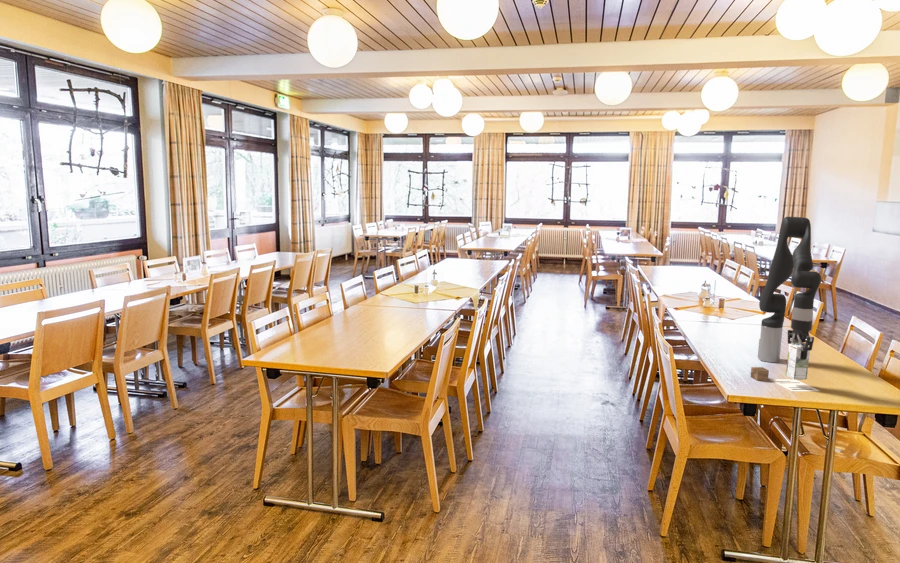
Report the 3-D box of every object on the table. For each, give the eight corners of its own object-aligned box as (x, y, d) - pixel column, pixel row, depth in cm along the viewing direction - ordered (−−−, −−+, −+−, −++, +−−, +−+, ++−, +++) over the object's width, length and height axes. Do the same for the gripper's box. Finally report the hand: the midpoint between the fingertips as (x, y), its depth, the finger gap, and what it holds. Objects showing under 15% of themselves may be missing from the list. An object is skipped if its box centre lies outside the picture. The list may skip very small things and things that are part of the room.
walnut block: (750, 377, 261) (751, 367, 260) (761, 377, 261) (762, 367, 260) (756, 381, 256) (757, 370, 255) (767, 381, 256) (768, 370, 255)
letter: (769, 380, 257) (769, 379, 257) (795, 379, 258) (795, 379, 258) (792, 392, 242) (792, 391, 242) (820, 391, 242) (820, 391, 242)
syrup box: (798, 375, 251) (801, 342, 249) (807, 379, 246) (810, 346, 243) (785, 375, 251) (788, 342, 249) (793, 379, 245) (797, 346, 243)
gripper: (782, 314, 251) (779, 352, 254) (804, 322, 237) (800, 362, 240) (799, 314, 252) (795, 352, 254) (822, 321, 238) (818, 361, 240)
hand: (798, 357), depth 247 cm, fingers closed on syrup box, 6 cm apart
